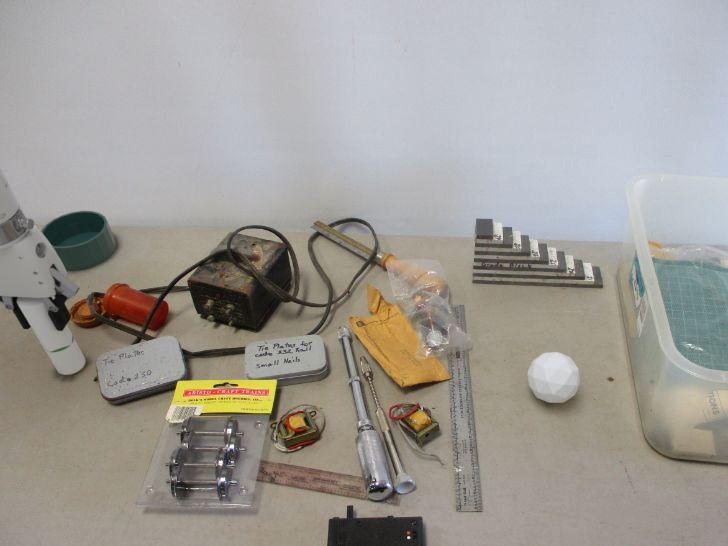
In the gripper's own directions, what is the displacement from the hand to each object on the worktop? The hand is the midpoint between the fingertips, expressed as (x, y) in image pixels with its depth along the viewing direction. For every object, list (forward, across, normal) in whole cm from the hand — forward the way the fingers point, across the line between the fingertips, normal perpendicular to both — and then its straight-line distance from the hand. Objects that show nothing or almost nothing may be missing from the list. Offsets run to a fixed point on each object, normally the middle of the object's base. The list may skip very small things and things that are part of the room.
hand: (47, 322), depth 88 cm
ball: (+9, -77, +1) cm, 77 cm away
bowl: (+11, +11, -30) cm, 34 cm away
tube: (+10, 0, 0) cm, 10 cm away
